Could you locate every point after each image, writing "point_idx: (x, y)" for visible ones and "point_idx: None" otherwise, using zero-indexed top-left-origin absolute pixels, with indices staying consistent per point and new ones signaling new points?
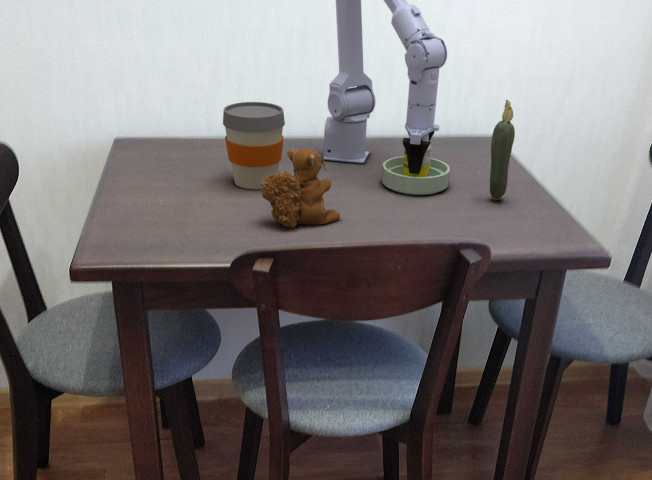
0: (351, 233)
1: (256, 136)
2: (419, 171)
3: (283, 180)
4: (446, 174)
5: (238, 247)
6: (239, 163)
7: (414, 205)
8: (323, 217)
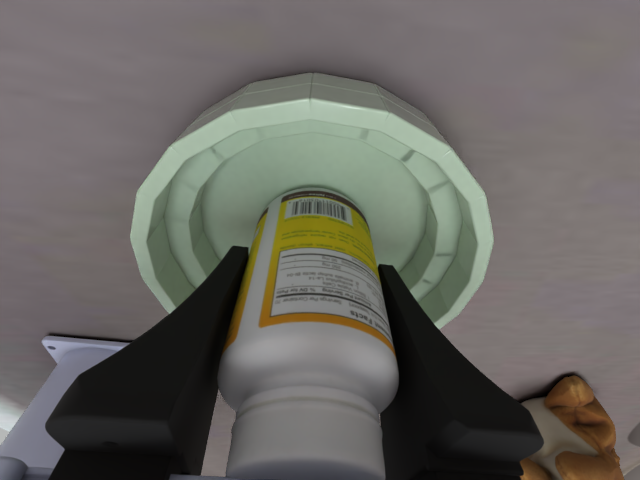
0: None
1: None
2: (398, 274)
3: None
4: (431, 133)
5: (619, 444)
6: None
7: (540, 232)
8: (600, 406)
